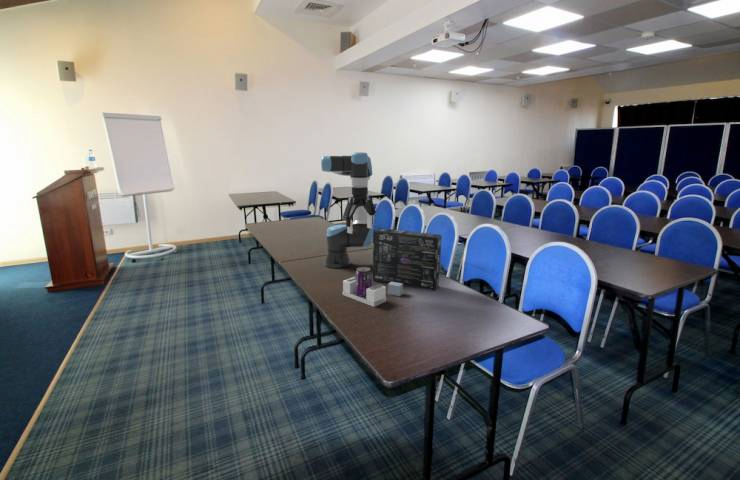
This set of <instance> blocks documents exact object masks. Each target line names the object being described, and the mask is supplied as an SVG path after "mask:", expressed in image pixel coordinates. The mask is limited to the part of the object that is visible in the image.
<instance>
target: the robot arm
mask: <svg viewBox="0 0 740 480" xmlns="http://www.w3.org/2000/svg"><path fill="white" fill-rule="evenodd" d="M320 161H321V162H320V164H321V170H322V172H325V173H332V174H335V175H338V176H346V177H350V180H351V186H352V187H351V195H352V197H348V198H347V203H346V206H345V210H344V211H343V216H342V219H343V220H344V219H345V221H346V224H336V225H332V226H329V227H328V228H327V229H326V248H327V249H326V250H327V251H326V252H327V253H326V256H325V259H324V266H325V267H326V266H327V267H326V268H330V267H331V268H330V269H343V268H342V267H344V268H346V267H349V266H350V265H351V259H350V256H349V253H348V248H369V247H371V245H372V242H373V231H374V227H373V220H374V219H373V218H374V216H375V214H376V213H377V210H376V207H375V205H374V203H373V198H372V195H371V194H369V193H368V192H369V189H368V188H369V181H370V179H371V176H373V167H372V166H373V165H372V160H371V157H370V156H369V155H368V153H367V152H361V151H360V152H352V153H351V155H322V157H321V160H320Z"/></svg>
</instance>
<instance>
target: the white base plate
mask: <svg viewBox="0 0 740 480" xmlns="http://www.w3.org/2000/svg"><path fill="white" fill-rule="evenodd" d="M342 296H345V297H347V298H350V299H353V300H355V301H357V302H360V303H364V304H365V305H369V306H370V307H373V308H375V307H377V306H379V305H382V304H383V303H386V302H387V297H385V298H383V299H380V300H378V301H376V302H372V301H369V300H366V296H360V295H358V294H356V291H355V292H352V293H348V292H345V291H343V290H342Z"/></svg>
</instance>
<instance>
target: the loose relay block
mask: <svg viewBox="0 0 740 480" xmlns="http://www.w3.org/2000/svg"><path fill="white" fill-rule="evenodd" d="M403 294H404V285H403V284H402V283H397V282H390V283H387V295H390V296H395V297H401V296H402V295H403Z"/></svg>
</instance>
